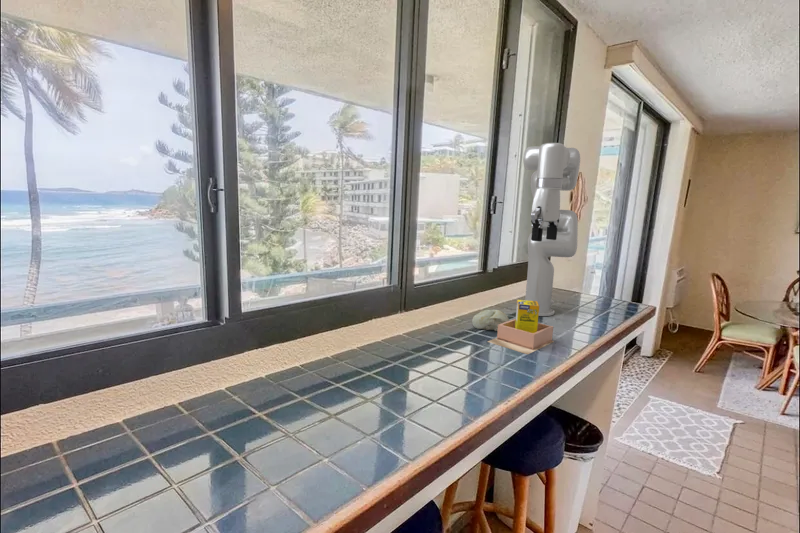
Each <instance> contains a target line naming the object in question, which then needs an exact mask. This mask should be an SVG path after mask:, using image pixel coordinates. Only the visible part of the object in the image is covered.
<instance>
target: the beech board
mask: <svg viewBox="0 0 800 533" xmlns="http://www.w3.org/2000/svg"><path fill="white" fill-rule="evenodd" d="M487 343H490V344H492V345H496V346H500V347H503V348H506V349H509V350H511V351H512V350H513V351H515V352H518V353H522V354H524V355H530V354H532V353H534V352H536V351H539V350H540V349H542V348H545V347H547V346H549V345H551V344H552V343H555V341H554V340H552V341H551V342H549V343H547V344H545V345H542V346H540V347H538V348H536V349H534V350H531V349H528V348H524V347H521V346H518V345H515V344H511V343H508V342H505V341H502V340H498V339H497V337H495V338H493V339H490V340H488V341H487Z"/></svg>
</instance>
